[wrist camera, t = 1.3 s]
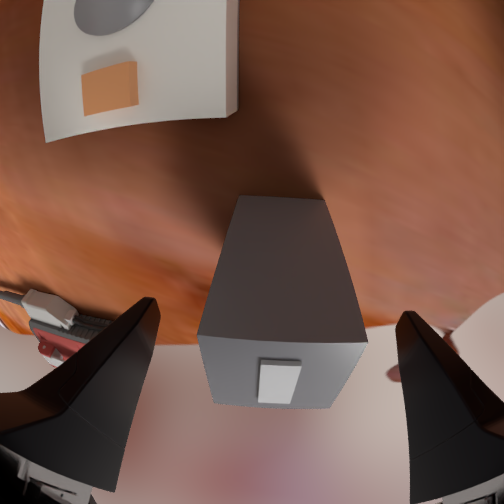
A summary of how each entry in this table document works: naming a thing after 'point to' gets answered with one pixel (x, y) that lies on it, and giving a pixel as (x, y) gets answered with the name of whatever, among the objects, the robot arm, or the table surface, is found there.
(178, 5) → the power strip
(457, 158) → the table surface
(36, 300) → the walkie-talkie
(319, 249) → the grey rectangular block
